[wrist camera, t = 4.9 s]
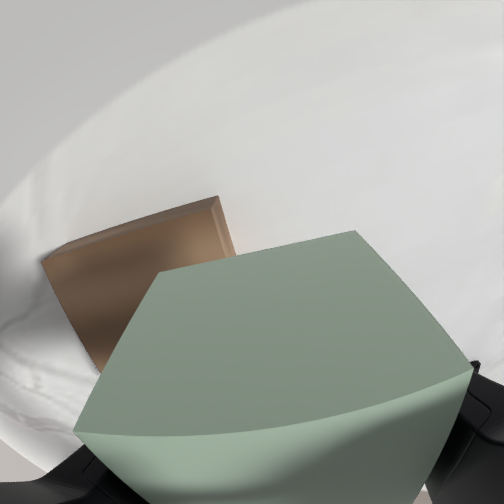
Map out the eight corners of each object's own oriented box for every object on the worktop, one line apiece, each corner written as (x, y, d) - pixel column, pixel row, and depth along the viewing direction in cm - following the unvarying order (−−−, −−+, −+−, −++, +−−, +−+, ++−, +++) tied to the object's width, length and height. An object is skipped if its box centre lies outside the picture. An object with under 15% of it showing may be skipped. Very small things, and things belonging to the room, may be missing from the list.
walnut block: (264, 344, 23) (265, 380, 20) (131, 365, 25) (117, 396, 21) (218, 194, 19) (210, 208, 16) (69, 241, 20) (41, 261, 17)
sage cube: (363, 375, 11) (410, 507, 5) (214, 402, 11) (200, 538, 6) (355, 230, 9) (474, 368, 3) (158, 272, 9) (72, 430, 4)
